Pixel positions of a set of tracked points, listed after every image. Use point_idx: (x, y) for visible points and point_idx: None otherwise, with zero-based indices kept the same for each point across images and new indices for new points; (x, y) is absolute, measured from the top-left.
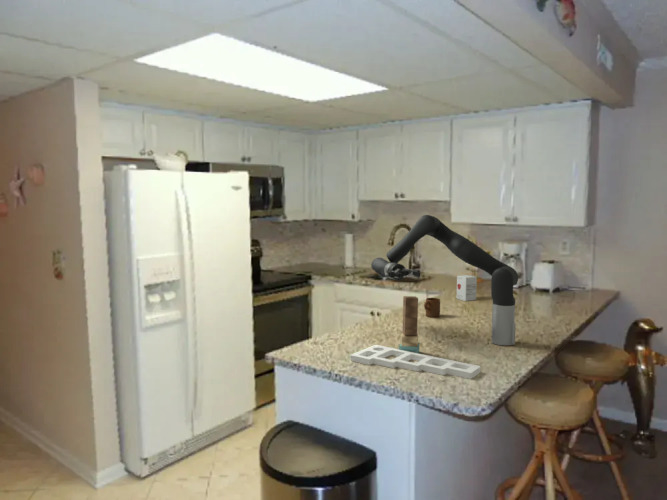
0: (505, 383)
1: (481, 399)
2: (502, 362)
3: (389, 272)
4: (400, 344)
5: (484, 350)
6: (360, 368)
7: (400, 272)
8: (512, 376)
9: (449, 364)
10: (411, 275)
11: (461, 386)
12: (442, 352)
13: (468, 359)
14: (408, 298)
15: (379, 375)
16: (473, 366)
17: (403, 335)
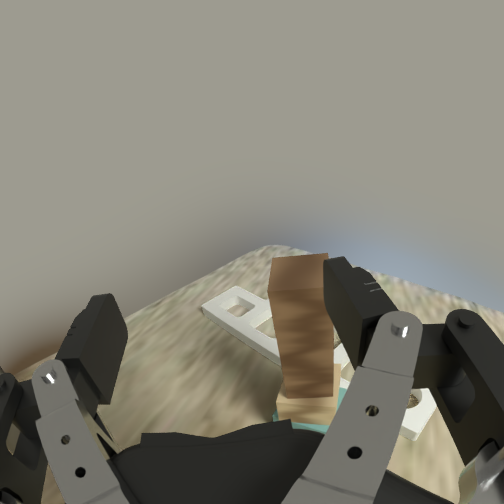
0: (197, 284)
1: (259, 254)
2: (130, 345)
3: (491, 339)
4: (341, 398)
5: (101, 408)
6: (430, 321)
7: (297, 430)
8: (168, 300)
9: (252, 312)
10: (116, 445)
11: (265, 276)
12: (210, 416)
13: (179, 366)
14: (315, 255)
15: (391, 299)
16: (213, 305)
17: (334, 372)
